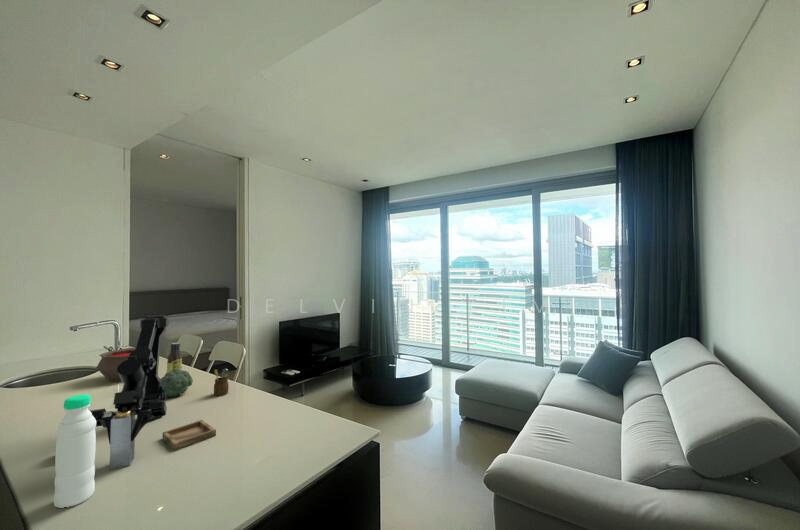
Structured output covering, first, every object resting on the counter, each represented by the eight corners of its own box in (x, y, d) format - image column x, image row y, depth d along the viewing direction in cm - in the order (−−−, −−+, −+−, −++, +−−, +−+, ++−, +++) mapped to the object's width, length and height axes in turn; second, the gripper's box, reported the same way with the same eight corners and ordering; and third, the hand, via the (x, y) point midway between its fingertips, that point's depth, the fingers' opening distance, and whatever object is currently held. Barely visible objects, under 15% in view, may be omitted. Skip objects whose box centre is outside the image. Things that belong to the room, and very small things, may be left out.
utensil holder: (231, 392, 151) (231, 366, 151) (219, 397, 145) (220, 370, 145) (221, 390, 153) (222, 365, 153) (210, 395, 147) (210, 369, 147)
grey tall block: (114, 461, 95) (116, 410, 95) (134, 457, 97) (135, 407, 97) (109, 470, 91) (111, 416, 91) (129, 465, 93) (131, 413, 93)
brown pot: (82, 383, 162) (83, 351, 162) (129, 369, 185) (130, 341, 186) (122, 386, 158) (123, 353, 158) (165, 372, 181) (166, 342, 182)
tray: (162, 438, 108) (162, 432, 108) (201, 425, 118) (201, 419, 118) (175, 450, 101) (175, 444, 101) (215, 435, 110) (216, 429, 110)
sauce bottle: (173, 385, 160) (174, 345, 161) (162, 384, 161) (163, 344, 162) (184, 380, 166) (185, 342, 167) (174, 380, 168) (175, 341, 168)
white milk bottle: (72, 490, 82) (75, 391, 83) (102, 489, 83) (104, 391, 84) (44, 510, 75) (48, 402, 76) (77, 508, 76) (80, 401, 77)
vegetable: (198, 381, 159) (197, 375, 147) (176, 406, 151) (173, 402, 139) (176, 368, 157) (173, 361, 146) (153, 392, 149) (148, 386, 138)
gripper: (87, 383, 94) (68, 439, 84) (165, 374, 102) (157, 424, 92) (97, 401, 101) (81, 454, 91) (169, 391, 109) (162, 439, 99)
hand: (121, 442), depth 93 cm, fingers closed on grey tall block, 4 cm apart
